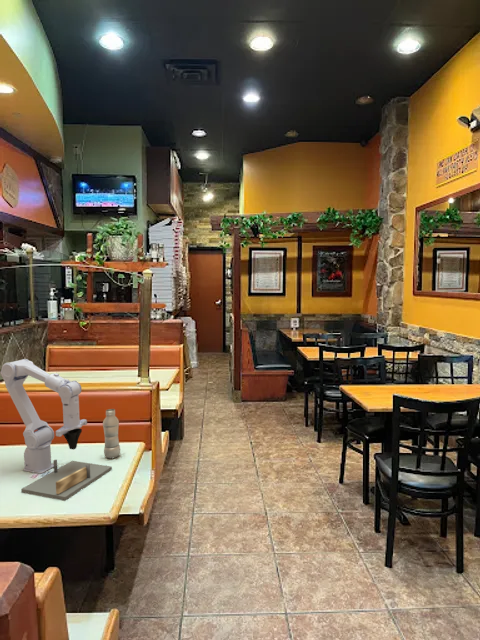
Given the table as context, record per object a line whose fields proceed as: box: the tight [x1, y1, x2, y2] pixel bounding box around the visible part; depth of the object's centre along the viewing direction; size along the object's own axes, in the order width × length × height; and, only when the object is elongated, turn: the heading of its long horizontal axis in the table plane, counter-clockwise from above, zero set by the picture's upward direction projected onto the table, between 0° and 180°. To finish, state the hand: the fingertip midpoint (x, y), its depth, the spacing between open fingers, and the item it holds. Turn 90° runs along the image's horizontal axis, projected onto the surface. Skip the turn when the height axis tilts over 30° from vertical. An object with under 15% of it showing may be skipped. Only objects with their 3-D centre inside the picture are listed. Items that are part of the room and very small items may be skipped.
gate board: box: [20, 459, 113, 501], centre depth 154 cm, size 19×25×6 cm
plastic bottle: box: [102, 408, 121, 459], centre depth 174 cm, size 6×7×20 cm
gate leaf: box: [56, 467, 87, 494], centre depth 147 cm, size 13×1×4 cm, turn 155°
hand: (72, 448), depth 160 cm, fingers closed
